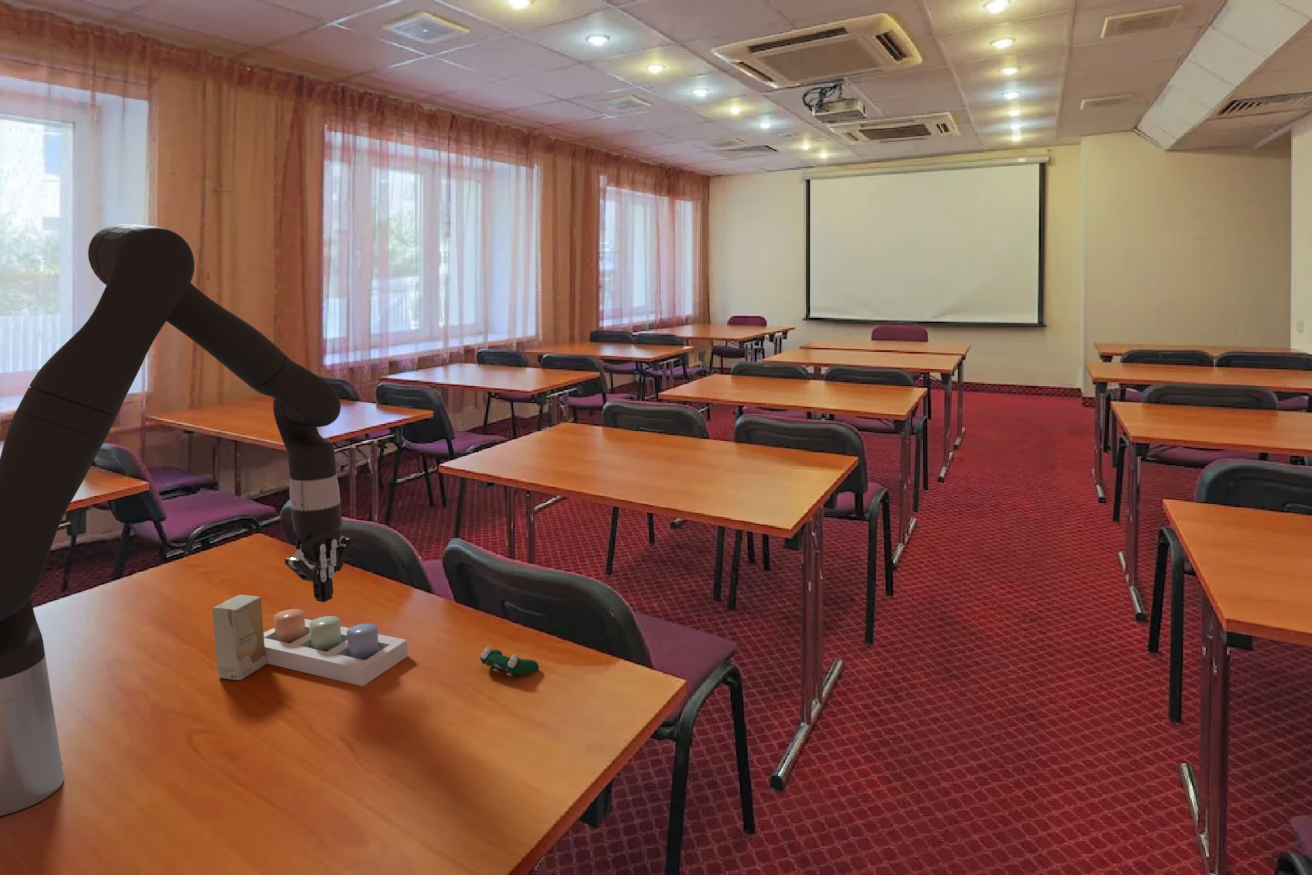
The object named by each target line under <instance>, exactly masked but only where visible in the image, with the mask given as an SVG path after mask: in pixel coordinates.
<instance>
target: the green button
mask: <svg viewBox="0 0 1312 875" xmlns="http://www.w3.org/2000/svg"><path fill="white" fill-rule="evenodd" d="M309 626H310V638H311V647H312V649H317V650H321V651H327V650H328V651H329V650H331V649H332V648H334V647H336V646H338V645H339V644H341V642H342V640H341V627H340V626H341V619H340V617H338V616H333V615H329V616H320V617H318V618H315V619H313V621H311V622H310V624H309Z"/></svg>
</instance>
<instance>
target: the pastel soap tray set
mask: <svg viewBox="0 0 1312 875" xmlns="http://www.w3.org/2000/svg"><path fill="white" fill-rule="evenodd" d="M313 620H314V619H313ZM313 620H312V619H307V618H305V629H306V635H305V636H303V637H301V638H300V639H298V640H296V641H292V642H281V641H277V640H276V638H275V627H273V628H271V629H269V630H267V631H263V633H264V645H265V656H266V664H268V665H272V666H276V667H280V668H285V669H289V670H293V671H296V672H301V673H304V674H305V673H306V674H309V675H313V676H314V675H315V676H317V677H322V678H327V679H331V680H335V681H339V682H343V683H347V684H352V685H356V686H360V687H364V686H366V685H367V684H369V683H370V682H371V681H373V680H375V679H376V678H377V677H379V676H380V675H381V674H383V673H385V672H386V671H387V670H389V669H391V668H392V667H394V666H395V665H396V664H397V665H398V663H400V662H401V661H402V660H404V659H405V658H407V657H408V656H409V652H408V651H409V650H408V640H407V639H406V638H405V639H404V638H400V637H396V636H395V637H394V636H389V635H385V634H380V633H378V644H379V651H378V653H376V654H374V655H373V656H371V657H368V658H365V659H363V658H362V659H357V658H353V657H350V656H349V655H348V642H347V630H348V629H349V628H350V627H345V626H341V625H340V627H341V640H342V642H341V644H339V645H338V646H336V647H334V648H332V649H328V651H327V650H317V649H312V647H311V638H310V626H309V624H310V622H311V621H313Z"/></svg>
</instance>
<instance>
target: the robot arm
mask: <svg viewBox="0 0 1312 875" xmlns="http://www.w3.org/2000/svg"><path fill="white" fill-rule="evenodd" d="M87 255H88V262H89V265H90V267H91V269H92V271H93V273H94V274H95V276H96V277H97V278H98V280H99V281H100V282H101V283H103V284H104V285H105V287H104V290H103V292H102V294H101V296H100V298H99V301H98V303H97V304H96V305H95V306H96V307H95V308H94V310H93V312H92V314H90V316H89V318H88V319H87V320H86V322H85V323H84V324H83V325H82V327H81V328H80V329H79V330H78V331H77V332H75V334H73V335H72V336H71V337H70V339H69V340H67V341H66V342H65V343H64V344H63V345H62V346H61V347H60V348H59V349H58V350H57V351H56V352H55V353H54V354H52V356H51V357H50V358H49V359H48V360H46V362H45V363H44V364H43V365H42V366H41V368H40V369H39V370H38V371H37V373H36V375H35V376H34V377H33V379H32V380H31V382H30V384H29V387H28V388H27V389H26V391H25V393H24V395H23V397H22V398H21V400H20V403H19V405H18V407H17V408H16V410H15V412H14V414H13V416H12V419H11V421H10V423H9V426H8V429H7V431H6V434H5V438H4V440H3V445H2V449H1V453H0V454H1V455H0V817H2V816H4V815H8V814H12V813H16V812H18V811H19V812H20V811H21V810H24V809H27V808H29V807H32V806H33V805H35V804H37V803H39V802H42V801H43V800H45V799H47V798H48V797H49V796H50V795H52V794H55V792H56V791H57V790H58V789H59V788H60V787H61V786H62V784H63V782H64V780H65V775H64V768H63V765H64V764H63V760H62V755H61V748H60V741H59V734H58V730H57V729H58V728H57V723H56V717H55V710H54V709H55V708H54V704H53V697H52V691H51V690H52V689H51V685H50V677H49V671H48V663H47V657H46V651H45V644H44V638H43V634H42V631H41V629H40V627H39V624H38V621H37V618H36V613H35V612H34V606H33V601H32V597H33V596H34V593H35V592H36V590H37V588H38V585H39V582H40V579H41V577H42V574H43V572H44V569H45V566H46V563H47V560H48V556H49V555H50V551H51V549H52V546H53V543H54V540H55V538H56V535H57V532H58V529H59V527H60V524H61V522H62V520H63V518H64V517H65V514H66V511H67V510H68V508H69V506H70V504H71V502H72V501H73V500H74V498H75V496H76V494H77V493H78V491H79V488H80V487H81V485H82V484H83V481H85V479H86V477H87V474H88V473H89V470H90V469H91V467H92V465H93V463H94V460H95V459H96V457H97V455H98V453H99V452H100V450H101V448H102V447H103V445H104V443H105V441H106V439H107V437H108V435H109V432H110V431H111V429H112V427H113V425H114V423H115V421H116V418H117V416H118V415H119V413H120V410H121V408H122V406H123V404H124V402H125V399H126V397H127V396H128V392H129V391H130V390H131V387H132V385H133V383H134V382H135V379H136V377H137V375H138V373H139V371H140V370H141V367H142V365H143V363H144V361H145V359H146V357H147V355H148V353H149V351H150V348H151V347H152V345H153V343H154V342H155V340H156V338H157V336H158V335H159V333H160V332H161V330H162V329H163V327H164V325H165V323H166V322H167V323H168V324H170V325H172V326H173V327H175V328H176V329H177V330H179V332H181V333H182V334H184V335H185V336H187V337H188V338H189V339H191V340H192V341H193V342H195V344H197V345H198V346H200V347H201V349H203V350H204V351H205V352H207V353H208V354H210V355H211V356H212V357H213V358H215V359H216V361H218V362H219V363H221V364H222V365H223V366H224V367H226V369H228V370H229V371H230V372H231V373H233V374H234V375H235V376H237V377H238V378H239V379H240V380H241V381H243V382H244V384H246V385H248V387H250V388H251V389H252V390H254V391H256V392H257V393H258V394H262V395H264V396H268V397H272V398H273V403H272V407H273V408H272V410H273V416H274V420H275V424H276V427H277V429H278V432H279V434H280V437H281V440H282V443H283V445H284V447H285V449H286V452H287V460H288V462H287V464H288V471H289V500H290V511H291V514H290V515H291V523H292V529H293V530H292V531H293V532H294V534H295V535H296V539H297V540H296V542H295V550H296V551H295V552H294V553H293V555H292V557H290V556H289V557H286V558H285V561H284V564H285V565H286V567H288V568H289V569H290V570H291V571H292V572H293V573H294V574H295V575H297V576H298V578H300V579H301V580H302V581H307V582H311V583H312V588H313V597H314V598H315V600H316V601H317V602H321V603H326V602H328V601H329V600H332V599H333V594H334V587H333V583H334V582H333V578H334V577H335V574H336V572H340V571H341V570H342V568H343V566H344V563H345V561H346V559H347V556H348V553H349V551H350V548H351V546H352V544H353V538H350V537H346V536H343V534H342V531H341V529H340V528H341V527H342V526H343V519H342V518H343V517H342V504H341V495H340V484H339V480H338V477H337V476H338V475H337V465H336V464H337V463H336V453H335V447H334V445H333V443H332V442H331V441H330V440H328V439H327V438H324V437H323V436H322V435H321V434H320V433H319V430H318V428H321V427H327V426H329V425H331V424H333V423H334V422H336V420H337V419H338V418H339V416H340V414H341V409H342V408H341V406H342V405H341V400H340V398H339V397H340V396H339V395H338V392H337V391H336V390H335V389H334V388H333V387H332V386H331V385H330V384H329V383H328V382H327V381H325V380H324V379H323V378H321V377H320V376H318V375H316V374H315V373H313V372H312V371H310V370H309V369H307V368H306V367H304V366H303V365H300V364H299V363H296V362H295V361H294V360H292V359H290V358H289V356H287V354H285V353H284V351H282V350H281V349H280V348H279V347H278V346H277V345H275V343H274V342H272V340H270V339H269V338H268V337H266V336H265V335H264V334H263V333H262V332H261V331H259V330H258V329H257V328H255V326H252V325H251V324H249V322H247V321H245V320H243V319H242V318H241V317H239V316H237V315H236V314H234V313H232V312H231V311H229V310H228V309H226V308H225V307H223V306H222V305H220V304H218V302H215V301H214V300H213V299H212V298H210V297H209V296H207V294H205V293H204V292H202V290H200V289H198V288H197V287H196V286H195V285H194V284H193V283H192V280H193V276H194V273H195V258H194V255H193V250H192V249H191V247H190V245H189V243H188V242H187V241H186V239H184V238H183V237H182V236H181V235H180V234H178V233H176V232H175V231H173V230H171V229H168V228H164V227H159V226H154V225H145V224H134V223H121V224H119V223H118V224H114V225H109V226H107V227H104V228H102V229H100V230H99V231H98V232H97V233H95V235H93V237H92V238H91V241H90V242H89V244H88V249H87Z"/></svg>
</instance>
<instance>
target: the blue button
mask: <svg viewBox="0 0 1312 875" xmlns="http://www.w3.org/2000/svg"><path fill="white" fill-rule="evenodd" d="M348 628H349V629H348V630H347V642H348V655H349V656H350V657H353V658H357V659H362V660H363V659H368V658H370V657H371V656H373V655H374V654H376V653H378V651H379V644H378V634H379V633H378V632H379V630H378V626H377V625H376V624H374V623H360V624H357V625H356V624H355V625H353V626H351V627H348Z"/></svg>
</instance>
